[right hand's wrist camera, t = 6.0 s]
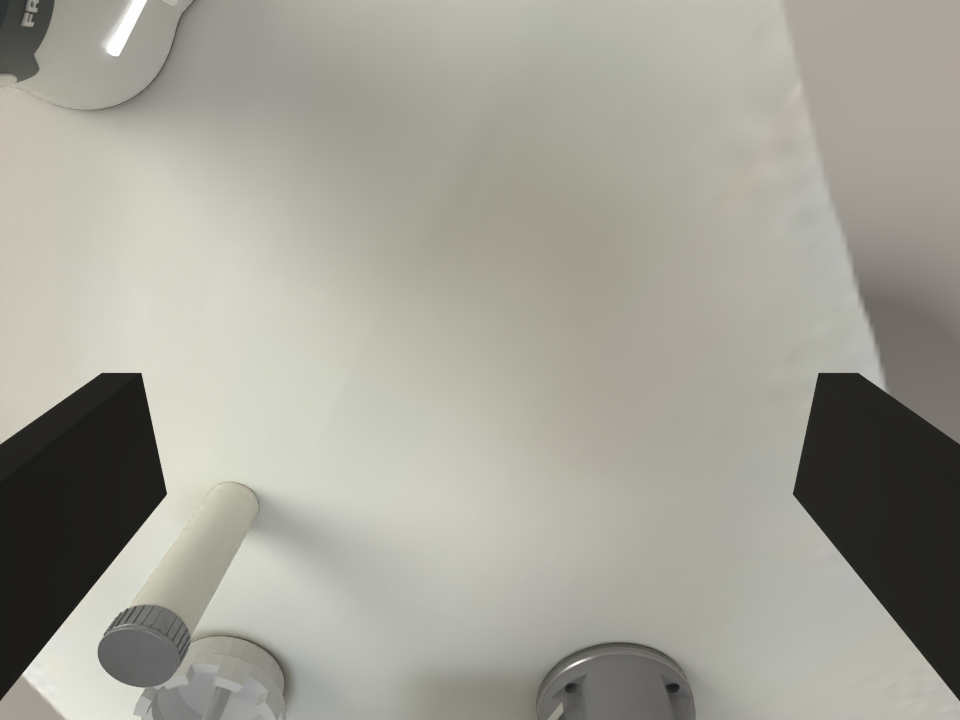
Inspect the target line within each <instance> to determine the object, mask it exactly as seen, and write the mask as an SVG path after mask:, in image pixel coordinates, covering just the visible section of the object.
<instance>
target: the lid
mask: <svg viewBox="0 0 960 720" xmlns="http://www.w3.org/2000/svg"><path fill="white" fill-rule="evenodd" d="M190 638H191V636H190V633H189V630H188V628H187V626H186V624H185V623H184V622H183V621H182V619H181V618H179V617H178V616H177V615H176V614H174V613H173V612H171V611H169V610H167V609H165V608H162V607H159V606H154V605H137V606H133V607H131V608H127V609H126V610H125V611H123V612H120V614H119V615H118V616H117V617H116V618H115V619H114V621H113V622H112V624H111V625H110V626H109V628H108V629H107V631H106V632H105V633H104V637H103V638H102V640H101V642H100V644H99V646H98V658H99V661H100V663H101V665H102V667H103V668H104V669H105V671H106V672H107V673H108V674H110V675H111V676H112V677H113V678H115V679H117V680H118V681H120V682H122V683H125V684H128V685H131V686H136V687H154V686H158V685H161V684H163V683H165V682H167V681H168V680H169V679H170V678H171V677H172V676H173V675H174V673H175V672H176V671H177V669H178V668H179V667H180V665H181V663H182V661H183V659H184V658H185V656H186V654H187V652H188V650H189V649H188V648H189V646H190V644H191V643H190Z"/></svg>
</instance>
